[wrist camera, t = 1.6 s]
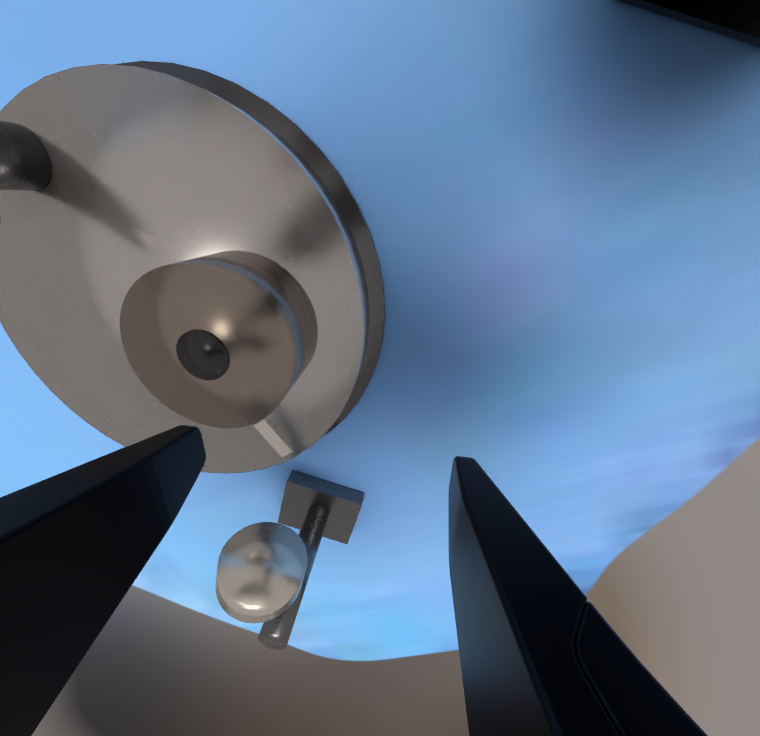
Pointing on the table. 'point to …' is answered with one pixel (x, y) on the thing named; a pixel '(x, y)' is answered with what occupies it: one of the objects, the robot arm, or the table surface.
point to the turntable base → (332, 182)
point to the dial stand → (283, 555)
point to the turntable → (163, 245)
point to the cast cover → (219, 336)
